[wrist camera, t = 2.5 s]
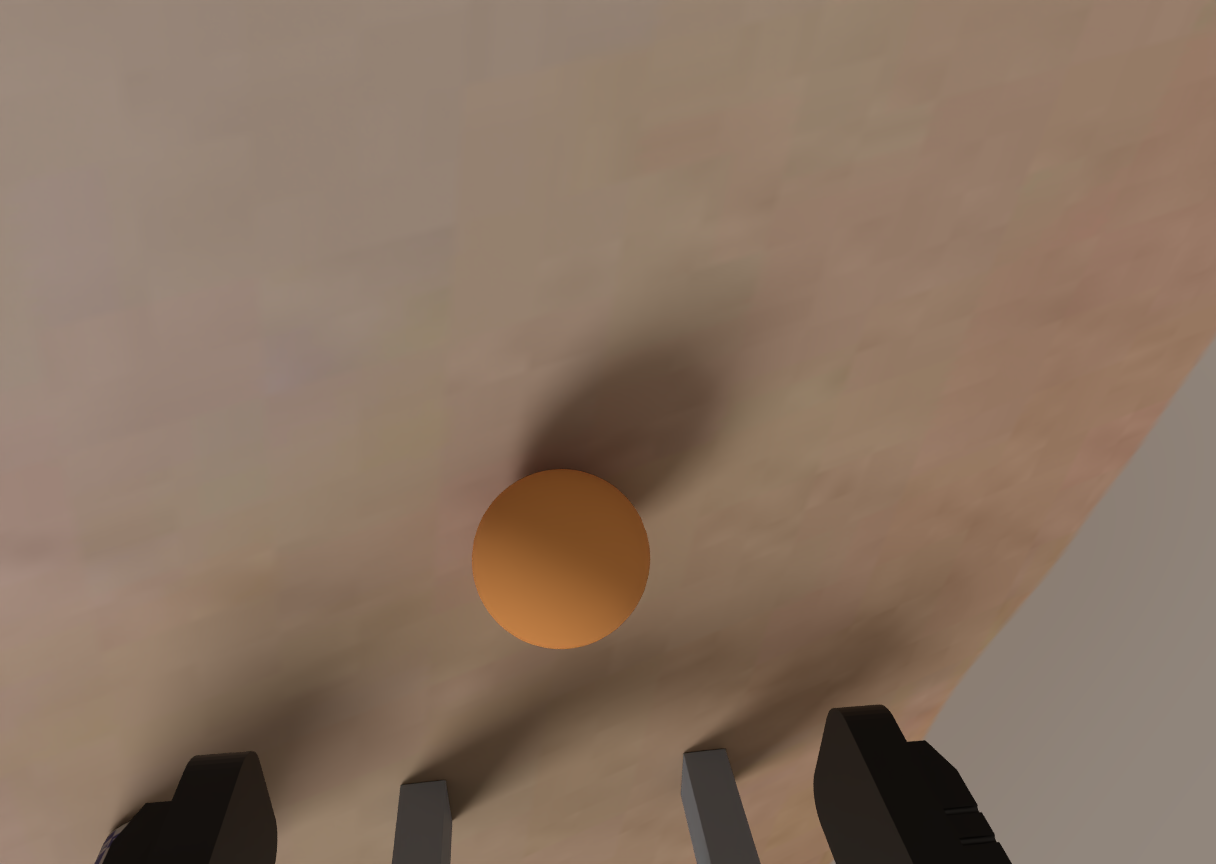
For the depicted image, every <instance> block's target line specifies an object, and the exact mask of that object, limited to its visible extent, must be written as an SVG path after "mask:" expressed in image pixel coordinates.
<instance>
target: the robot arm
mask: <svg viewBox="0 0 1216 864" xmlns="http://www.w3.org/2000/svg"><path fill="white" fill-rule="evenodd" d="M813 784H814V798H815V805H816V809H817V814H818V817H819V820H820V823H821V826H822V829H823V831H824V834H825V836H826V839H827V842H828V844H829V847H830V849H831V852H832V855H833V857H834V860H835V862H836V864H1012V863H1011V862H1010V860H1009V858H1008V856H1007V855H1006V853H1005V851H1004V849H1003V848H1002V846H1001V844H1000V843H999V842H996V840H995V835H994V832H993V831H992V829H991V827H990V826H989V824H988V822H987V820H986V819H985V817H984V816H983V814H982V813H981V812H979V811H978V808H977V803H976V802H975V800H974V798H973V797H972V795H971V793H970V791H969V790H968V788H967V786H966V785H965V783H964V781H963V780H962V778H961V776H960V774H959V773H958V771H957V770H956V769H955V768H954V767H953V766H952V765H951V764H950V763H949V762H948V761H947V760H946V759H945V758H944V757H943V756H941V755H940V754H939V753H938V752H937V751H936V750H935V749H934V748H933V747H932V746H931V745H930V744H929V743H927V742H926V741H925V740H924V741H912V742H907V741H906V739H905V737H904V736H903V734H902V732H901V730H900V728H899V726H898V724H897V723H896V721H895V719H894V717H893V715H892V714H891V712H890V711H889V710H888V709H887V708H886V707H885V706H883V705H868V706H855V707H842V708H833V709H831V710H830V711H829V713H828V716H827V719H826V724H825V728H824V733H823V737H822V742H821V746H820V751H819V755H818V760H817V764H816V769H815V773H814V783H813ZM276 853H277V825H276V819H275V816H274V812H273V808H272V805H271V801H270V797H269V794H268V790H267V787H266V783H265V779H264V776H263V772H262V768H261V765H260V761H259V758H258V756H257V754H256V753H255V752H253V751H249V752H236V753H223V754H210V755H197V756H194V757H193V758H192V759H191V760H190V761H189V762H188V764H187V766H186V768H185V770H184V772H183V775H182V777H181V780H180V782H179V784H178V787H177V789H176V792H175V794H174V797H173V799H172V801H168V802H156V803H146V804H145V805H144V806H143V807H142V809H141V810H140V811H139V812H138V813H137V814H136V815H135V817H134V818H133V819H132V820H131V821H130V822H129V823H128V824H127V826H126V827H125V828H124V829H123V830H122V831H121V832H120V834H119V835H118V836H117V837H116V838H115V839H114V840H113V842H112V843H111V845H110V847H109V850H108V852H107V854H106V856H105V858H104V861H103V863H102V864H275V861H276Z"/></svg>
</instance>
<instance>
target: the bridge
mask: <svg viewBox="0 0 1216 864" xmlns="http://www.w3.org/2000/svg"><path fill="white" fill-rule="evenodd" d="M681 797H682V802H683V806H684V810H685V814H686V819H687V823H688V827H689V831H690V836H691V840H692V844H693V848H694V853H695V857H696V861H697V864H760V860H759V857H758V854H757V851H756V847H755V844H754V841H753V838H752V834H751V831H750V828H749V825H748V821H747V818H746V815H745V812H744V808H743V805H742V802H741V799H740V795H739V792H738V789H737V786H736V782H735V779H734V776H733V773H732V769H731V766H730V763H729V760H728V756H727V753H726V750H725V749H718V750H710V751H701V752H692V753H684V754H683V770H682V785H681ZM451 837H452V817H451V811H450V805H449V798H448V792H447V786H446V780H442V781H433V782H424V783H415V784H406V785H401V787H400V796H399V805H398V813H397V822H396V831H395V840H394V849H393V858H392V864H450V860H451Z"/></svg>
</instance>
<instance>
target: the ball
mask: <svg viewBox="0 0 1216 864" xmlns="http://www.w3.org/2000/svg"><path fill="white" fill-rule="evenodd" d="M649 567H650V548H649V542H648V538H647V533H646V530H645V528H644V525H643V523H642V520H641V518H640V516H639V514H638V513H637V511H636V509H635V508H634V506H633V505H632V503H631V502H630V501H629V500H628V499H627V497H626V496H625V495H623V494H622V493H621V492H620V491H619V490H618V489H617V488H616V487H614V486H613V485H611V484H610V483H608V482H607V481H605V480H603V479H601V478H599V477H597V476H595V475H592V474H589V473H586V472H582V471H578V470H570V469H554V470H546V471H542V472H537V473H534V474H531V475H529V476H526V477H524V478H522V479H520V480H518V481H517V482H515V483H514V484H512V485H511V486H509V487H508V488H507V489H505V490H504V491H503V492H502V493H501V494H500V495H499V496H498V497H497V498H496V499H495V500H494V501H493V502H492V504H491V505H490V507H489V508H488V509H487V511H486V512H485V514H484V515H483V517H482V520H481V522H480V524H479V526H478V529H477V532H476V535H475V538H474V545H473V552H472V568H473V576H474V581H475V584H476V588H477V591H478V593H479V596H480V598H481V600H482V602H483V604H484V605H485V607H486V609H487V610H488V612H489V613H490V614H491V616H492V617H493V618H494V619H495V620H496V621H497V623H498V624H499V625H501V626H502V627H503V628H504V629H505V630H506V631H508V632H509V633H511V634H512V635H514V636H515V637H517V638H519V639H521V640H522V641H525V642H527V643H530V644H533V645H536V646H540V647H544V648H551V649H570V648H577V647H581V646H585V645H588V644H591V643H594V642H596V641H598V640H600V639H602V638H603V637H605V636H607V635H609V634H610V633H612V632H613V631H614V630H616V629H617V628H618V627H619V626H620V625H621V624H622V623H623V622H624V621H625V620H626V619H627V618H628V617H629V616H630V614H631V613H632V612H633V611H634V609H635V607H636V606H637V604H638V602H639V601H640V599H641V596H642V594H643V592H644V590H645V586H646V583H647V579H648V575H649Z"/></svg>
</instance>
